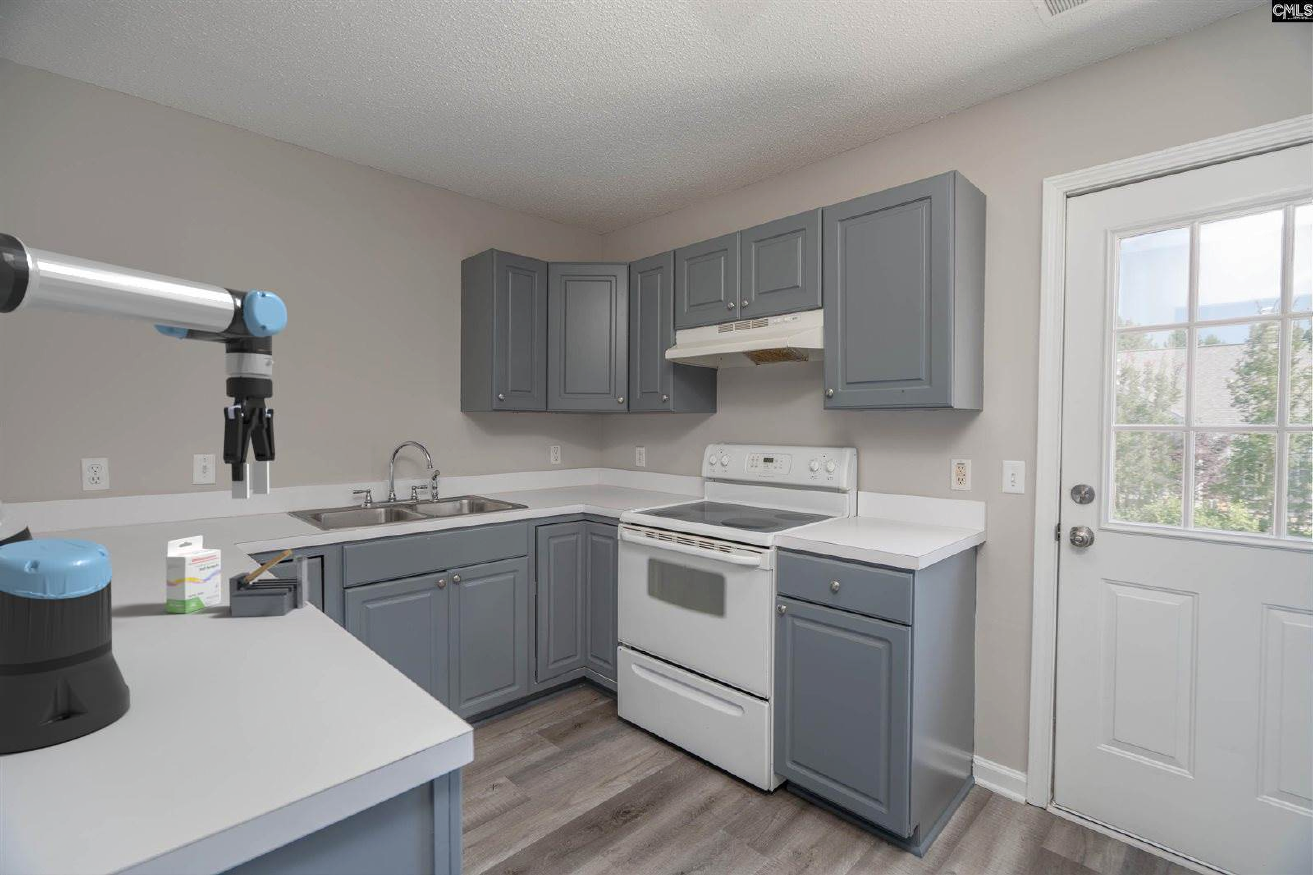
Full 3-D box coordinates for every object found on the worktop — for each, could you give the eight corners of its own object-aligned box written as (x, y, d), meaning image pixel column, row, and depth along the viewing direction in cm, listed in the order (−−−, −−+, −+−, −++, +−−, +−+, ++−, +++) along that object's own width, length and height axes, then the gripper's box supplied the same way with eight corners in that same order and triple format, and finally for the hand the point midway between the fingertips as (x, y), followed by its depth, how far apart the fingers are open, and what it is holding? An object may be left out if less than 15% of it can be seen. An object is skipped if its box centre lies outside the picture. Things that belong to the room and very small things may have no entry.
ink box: (185, 614, 127) (184, 542, 127) (165, 613, 128) (164, 541, 128) (222, 602, 135) (222, 535, 135) (203, 601, 136) (202, 534, 136)
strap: (285, 556, 130) (281, 551, 130) (241, 586, 129) (237, 581, 129) (294, 552, 134) (290, 547, 134) (251, 581, 133) (248, 577, 133)
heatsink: (292, 615, 127) (291, 562, 126) (219, 617, 125) (219, 564, 125) (317, 598, 139) (316, 550, 138) (251, 600, 137) (250, 551, 137)
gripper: (242, 373, 111) (244, 502, 111) (293, 380, 130) (295, 490, 131) (197, 373, 110) (199, 502, 110) (255, 380, 129) (257, 490, 130)
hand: (251, 495), depth 121 cm, fingers open, 7 cm apart
